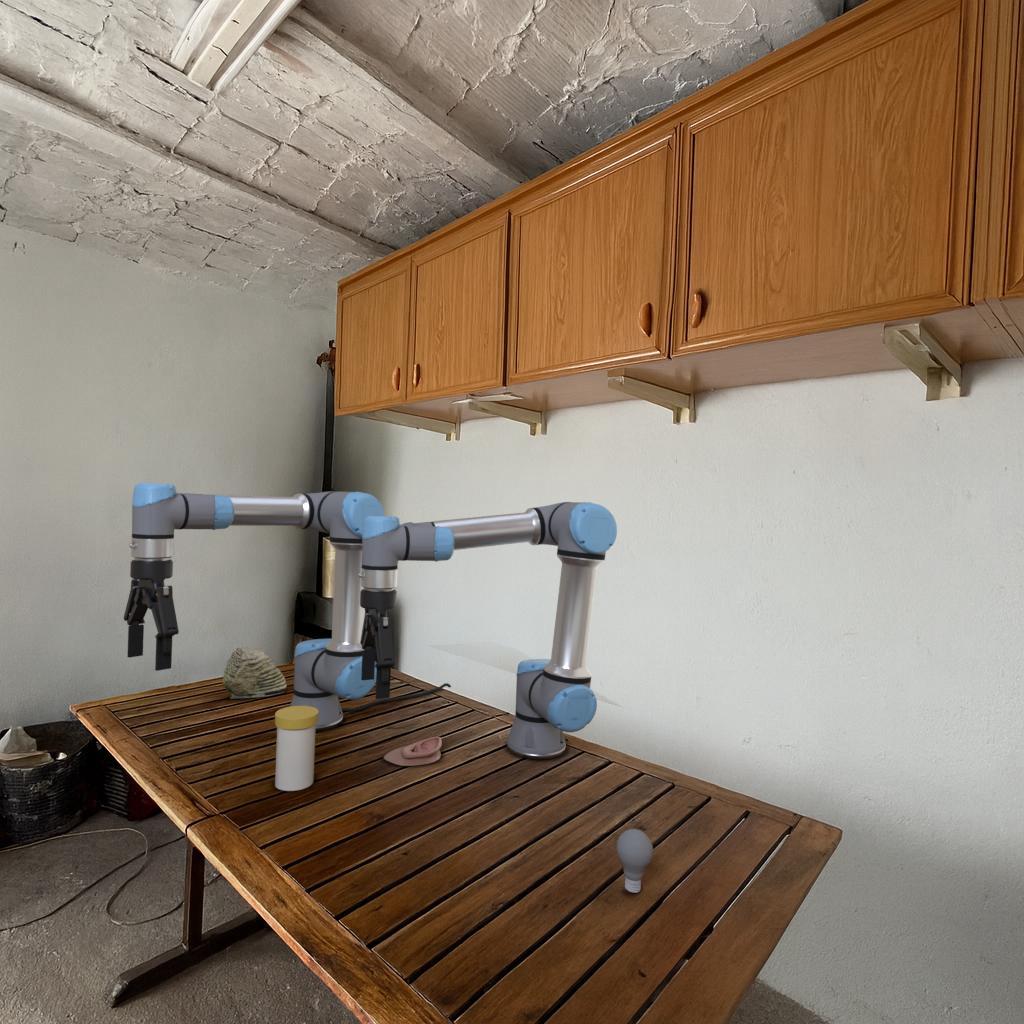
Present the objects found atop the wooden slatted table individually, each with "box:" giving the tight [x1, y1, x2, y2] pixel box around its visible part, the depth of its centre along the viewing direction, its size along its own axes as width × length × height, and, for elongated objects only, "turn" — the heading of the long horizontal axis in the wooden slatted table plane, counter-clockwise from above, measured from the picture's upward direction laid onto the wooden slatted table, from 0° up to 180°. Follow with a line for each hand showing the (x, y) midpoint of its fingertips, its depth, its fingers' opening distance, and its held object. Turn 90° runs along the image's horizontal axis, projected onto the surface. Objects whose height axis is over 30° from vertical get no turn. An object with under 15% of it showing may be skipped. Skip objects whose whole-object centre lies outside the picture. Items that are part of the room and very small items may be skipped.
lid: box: [274, 706, 318, 730], centre depth 139 cm, size 9×9×2 cm
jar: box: [274, 725, 317, 792], centre depth 140 cm, size 8×8×15 cm
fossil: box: [222, 646, 288, 699], centre depth 198 cm, size 9×18×15 cm, turn 132°
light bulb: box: [615, 828, 654, 894], centre depth 106 cm, size 6×6×10 cm
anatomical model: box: [383, 736, 443, 767], centre depth 156 cm, size 13×4×12 cm
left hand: (148, 662), depth 129 cm, fingers open, 13 cm apart
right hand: (374, 688), depth 134 cm, fingers open, 13 cm apart
